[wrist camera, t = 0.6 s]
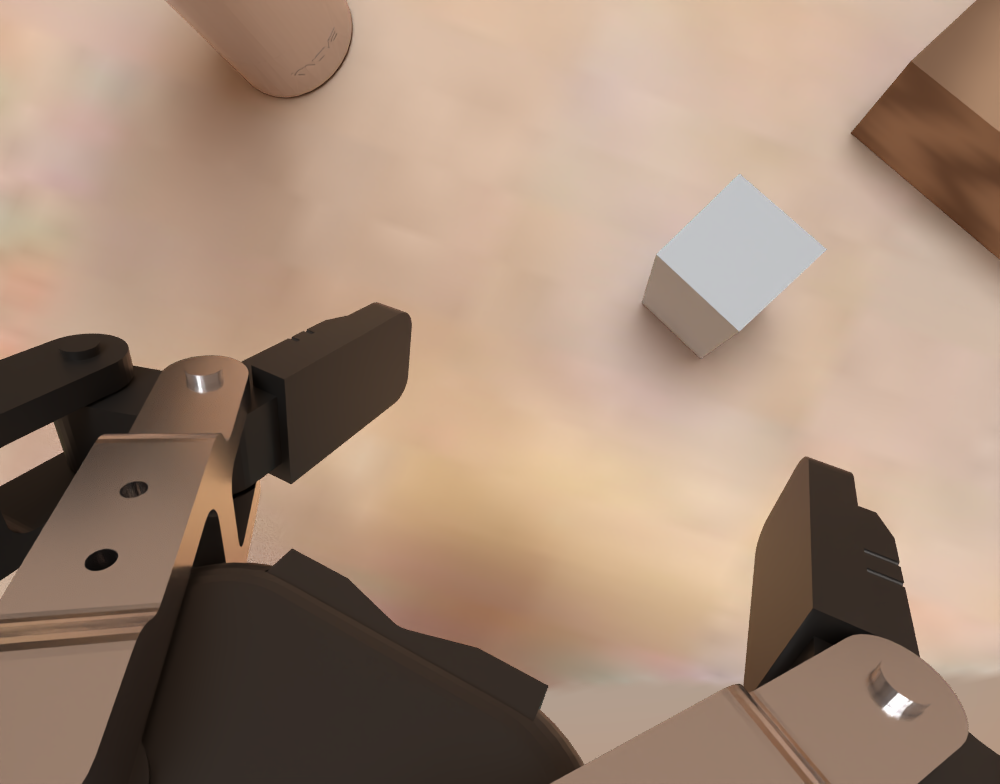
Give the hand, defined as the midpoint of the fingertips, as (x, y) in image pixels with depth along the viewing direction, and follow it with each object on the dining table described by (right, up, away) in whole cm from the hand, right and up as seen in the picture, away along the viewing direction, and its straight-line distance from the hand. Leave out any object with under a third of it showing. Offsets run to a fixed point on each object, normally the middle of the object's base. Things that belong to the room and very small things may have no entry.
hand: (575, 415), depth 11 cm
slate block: (+11, +6, +23) cm, 26 cm away
